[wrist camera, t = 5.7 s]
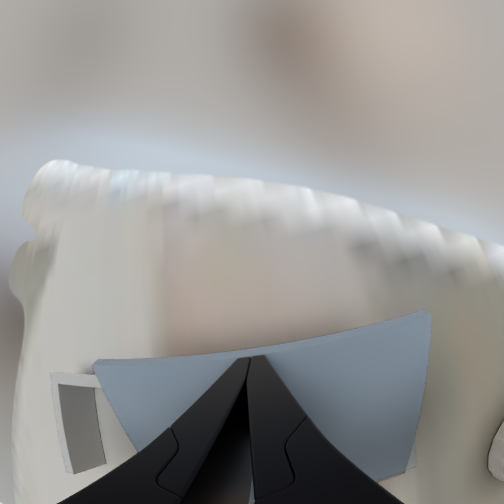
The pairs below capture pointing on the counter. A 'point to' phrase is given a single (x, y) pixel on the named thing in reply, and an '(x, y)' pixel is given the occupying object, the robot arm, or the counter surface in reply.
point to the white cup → (497, 455)
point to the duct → (89, 422)
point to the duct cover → (299, 388)
